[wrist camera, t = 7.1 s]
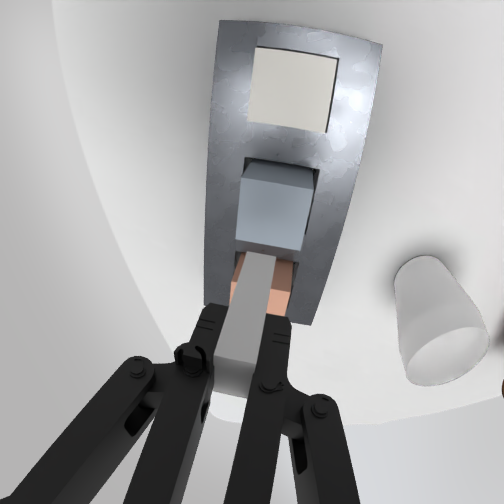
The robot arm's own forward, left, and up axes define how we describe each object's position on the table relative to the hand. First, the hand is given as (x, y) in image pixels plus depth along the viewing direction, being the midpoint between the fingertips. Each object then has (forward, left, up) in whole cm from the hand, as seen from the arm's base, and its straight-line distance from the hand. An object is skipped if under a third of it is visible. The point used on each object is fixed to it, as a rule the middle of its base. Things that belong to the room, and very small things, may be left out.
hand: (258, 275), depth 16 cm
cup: (+8, +18, -15) cm, 24 cm away
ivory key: (-9, 0, -12) cm, 15 cm away
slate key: (0, 0, -12) cm, 12 cm away
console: (0, 0, -14) cm, 14 cm away
